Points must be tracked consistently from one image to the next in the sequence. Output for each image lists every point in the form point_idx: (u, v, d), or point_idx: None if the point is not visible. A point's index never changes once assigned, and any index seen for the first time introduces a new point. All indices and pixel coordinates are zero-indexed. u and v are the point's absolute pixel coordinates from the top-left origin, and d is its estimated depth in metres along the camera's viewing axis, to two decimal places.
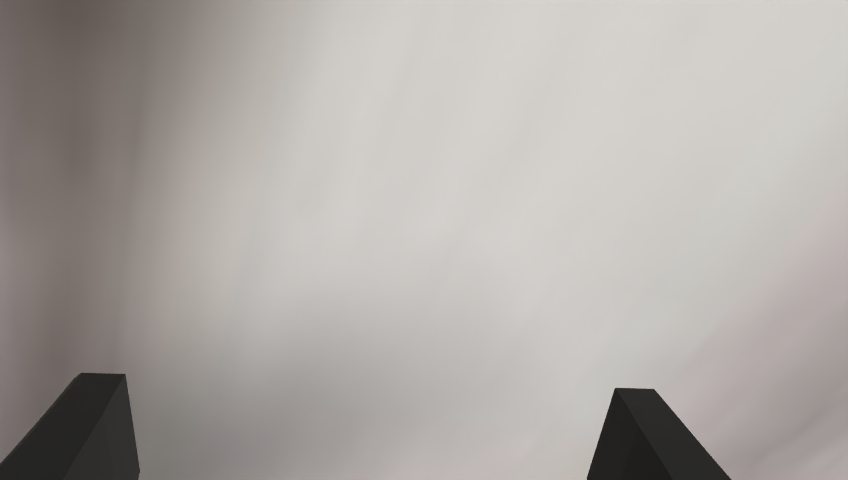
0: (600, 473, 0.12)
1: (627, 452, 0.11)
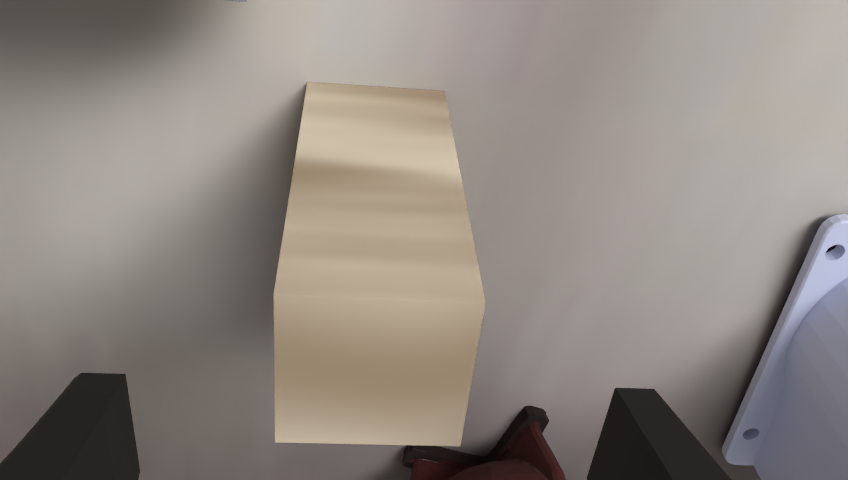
0: (600, 473, 0.12)
1: (627, 452, 0.11)
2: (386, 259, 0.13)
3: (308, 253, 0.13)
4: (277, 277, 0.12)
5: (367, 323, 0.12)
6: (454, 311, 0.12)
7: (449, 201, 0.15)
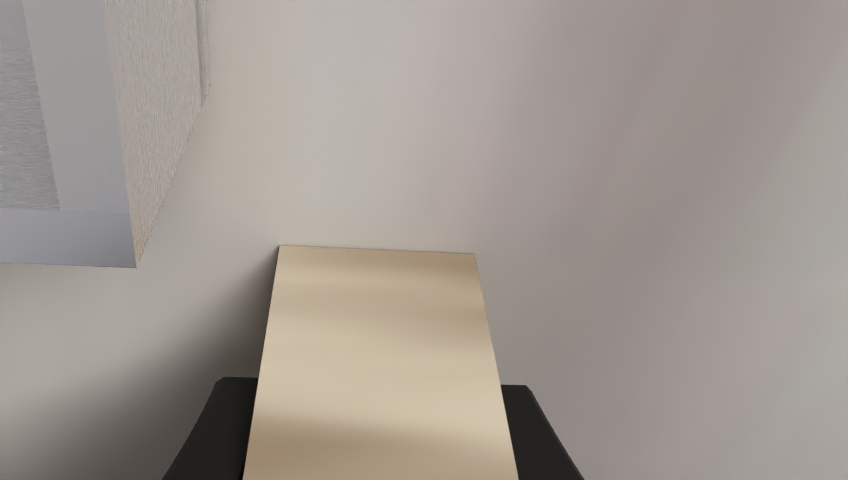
0: None
1: None
2: None
3: None
4: None
5: None
6: None
7: None
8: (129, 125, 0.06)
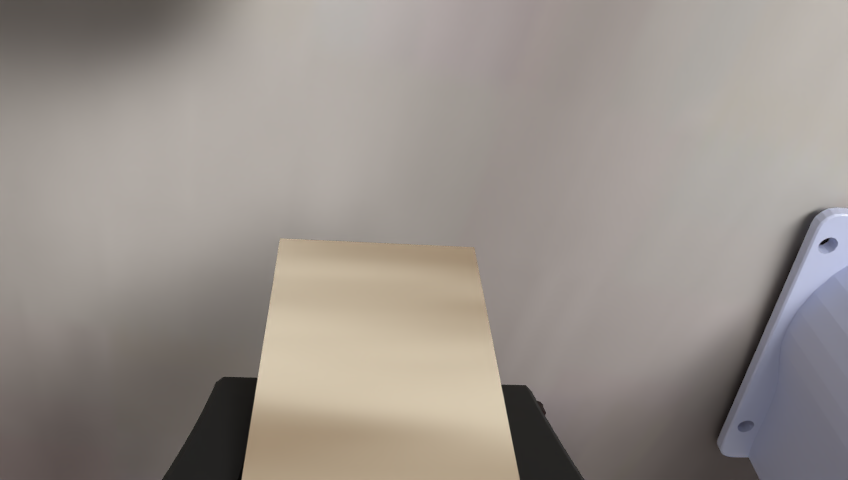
0: None
1: None
2: None
3: None
4: None
5: None
6: None
7: None
8: None
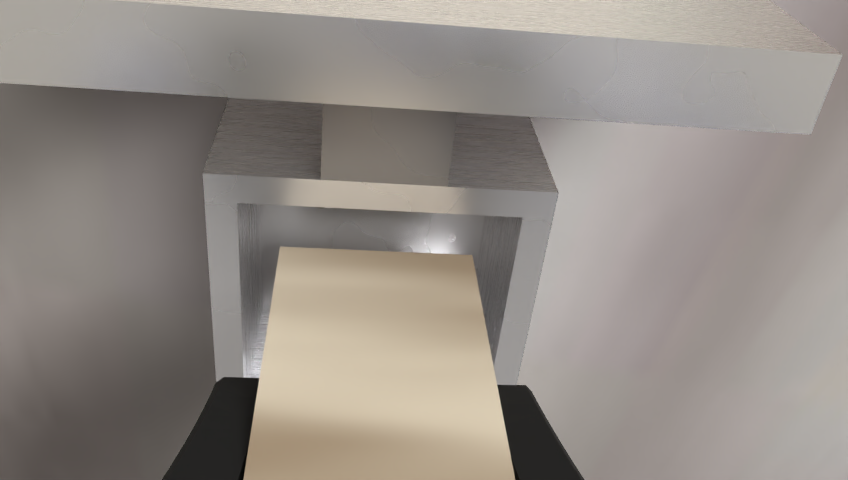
0: None
1: None
2: None
3: None
4: None
5: None
6: None
7: None
8: (511, 384, 0.16)
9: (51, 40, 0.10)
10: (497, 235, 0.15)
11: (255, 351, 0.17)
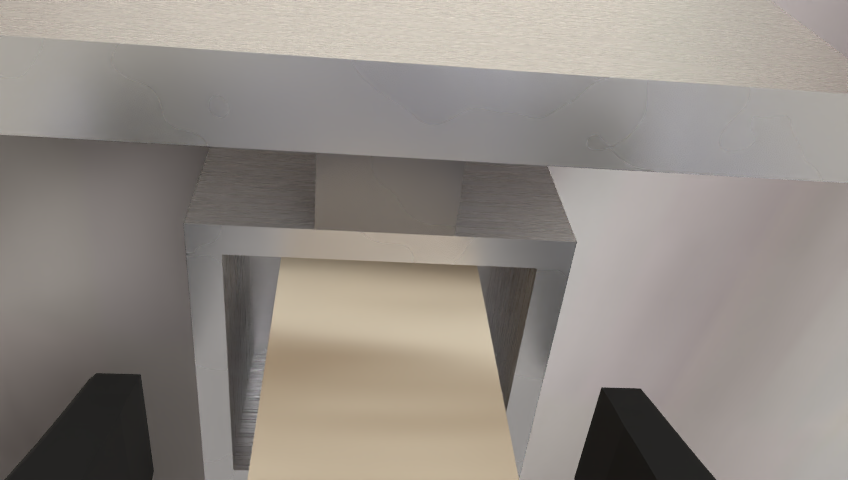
0: (587, 473, 0.12)
1: (613, 452, 0.11)
2: None
3: None
4: None
5: None
6: None
7: (481, 407, 0.11)
8: (523, 440, 0.14)
9: (7, 84, 0.09)
10: (507, 280, 0.14)
11: (245, 401, 0.15)
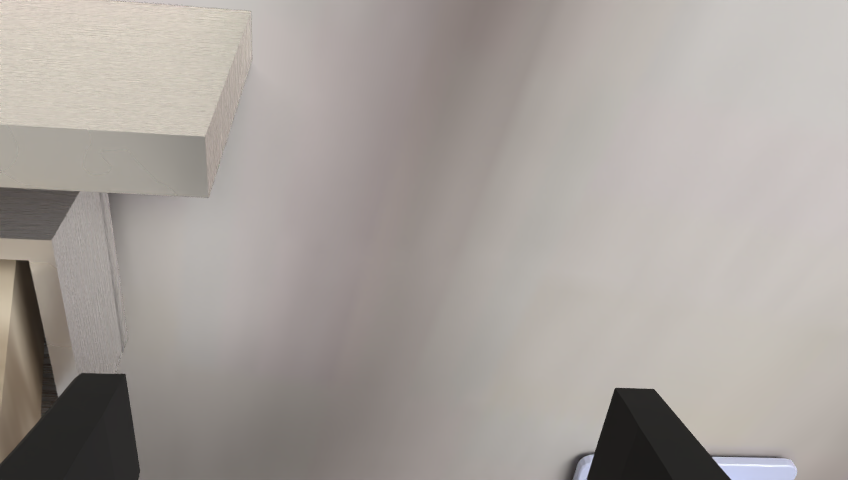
0: (600, 473, 0.12)
1: (627, 452, 0.11)
2: None
3: None
4: None
5: None
6: None
7: None
8: None
9: None
10: None
11: None
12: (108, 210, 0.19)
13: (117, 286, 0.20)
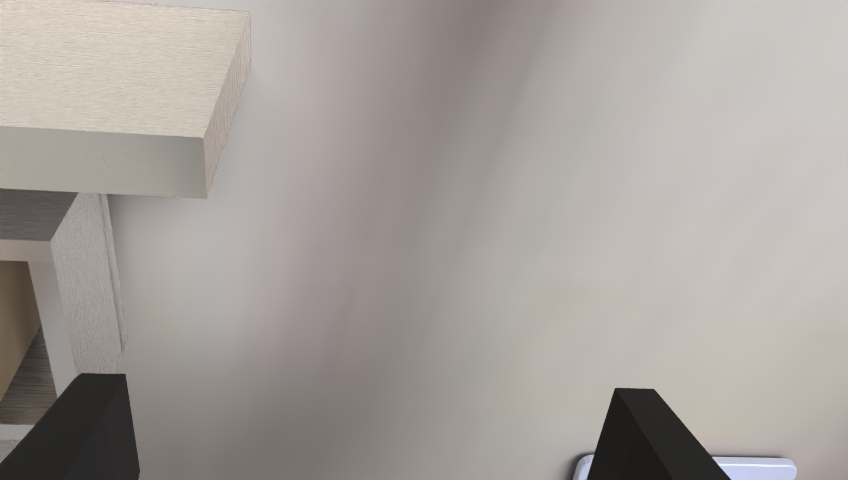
0: (600, 473, 0.12)
1: (627, 452, 0.11)
2: None
3: None
4: None
5: None
6: None
7: None
8: None
9: None
10: None
11: None
12: (107, 211, 0.19)
13: (116, 287, 0.20)
